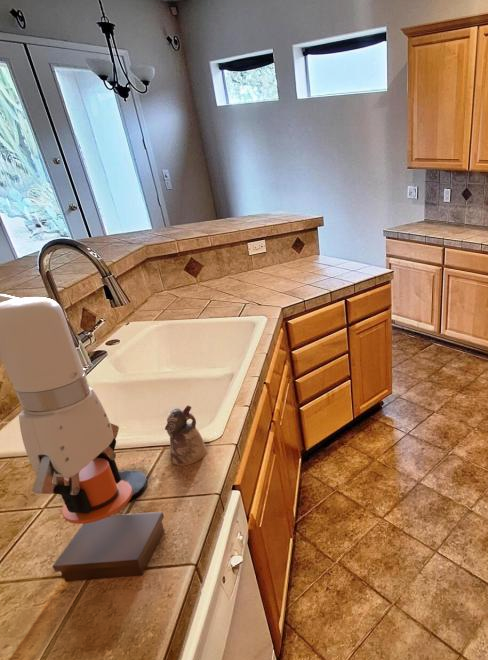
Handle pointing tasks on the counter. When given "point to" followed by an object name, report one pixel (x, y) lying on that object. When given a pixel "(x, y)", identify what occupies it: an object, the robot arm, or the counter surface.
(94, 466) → the hat
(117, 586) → the counter surface
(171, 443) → the figurine
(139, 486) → the hat stand
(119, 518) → the walnut stand
